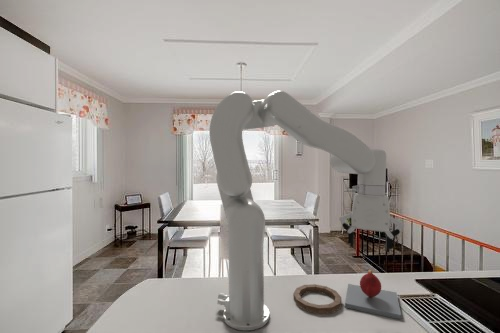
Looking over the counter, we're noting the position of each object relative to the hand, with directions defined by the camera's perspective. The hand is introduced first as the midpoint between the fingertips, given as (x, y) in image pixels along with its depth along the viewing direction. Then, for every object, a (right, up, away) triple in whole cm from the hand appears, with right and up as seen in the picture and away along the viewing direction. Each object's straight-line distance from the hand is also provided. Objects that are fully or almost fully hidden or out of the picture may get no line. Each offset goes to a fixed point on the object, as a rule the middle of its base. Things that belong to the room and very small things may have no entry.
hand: (369, 248), depth 76 cm
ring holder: (-15, -16, +1) cm, 22 cm away
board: (+1, -16, 0) cm, 16 cm away
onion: (+1, -15, 0) cm, 15 cm away
